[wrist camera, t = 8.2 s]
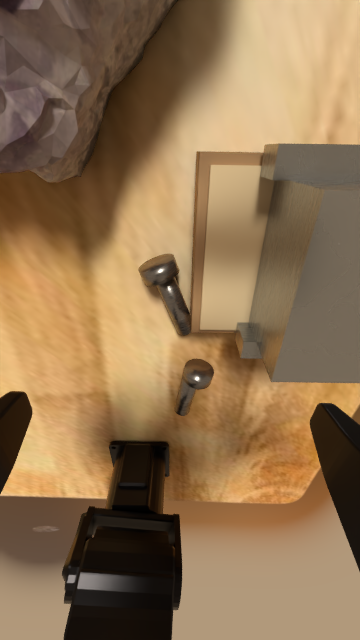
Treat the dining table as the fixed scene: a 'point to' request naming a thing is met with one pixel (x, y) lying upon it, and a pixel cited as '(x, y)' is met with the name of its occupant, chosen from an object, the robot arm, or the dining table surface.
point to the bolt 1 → (168, 289)
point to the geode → (65, 76)
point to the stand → (227, 238)
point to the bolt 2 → (192, 383)
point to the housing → (308, 267)
